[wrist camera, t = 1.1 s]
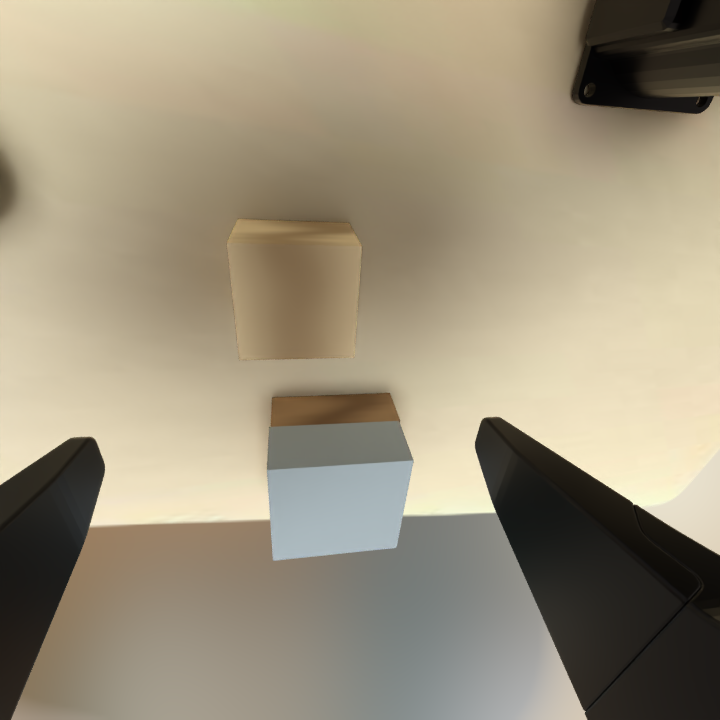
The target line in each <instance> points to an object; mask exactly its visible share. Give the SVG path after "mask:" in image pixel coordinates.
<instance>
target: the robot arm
mask: <svg viewBox="0 0 720 720" xmlns="http://www.w3.org/2000/svg"><path fill="white" fill-rule="evenodd" d="M586 41H587V43H586V46H585V50H584V53H583V57H582V60H581V64H580V67H579V71H578V74H577V78H576V82H575V85H574V89H573V100H574V101H575V102H576V103H577V104H580V105H591V106H603V107H615V108H627V109H638V110H650V111H662V112H674V113H685V114H698V113H701V112H703V111H705V110H706V109H707V108H708V107H709V105H710V103H711V102H712V99H713V97H714V96H720V0H596V3H595V7H594V10H593V14H592V17H591V21H590V24H589V28H588V32H587V35H586ZM588 84H589V87H590V89H589V93H588V95H587V96H585V95H584V89H585V87H586V86H587V85H588ZM699 96H700V100H699V102H698V104H697V105H696V102H697V99H698V98H699ZM475 449H476V453H477V456H478V459H479V463H480V466H481V469H482V472H483V475H484V478H485V481H486V485H487V488H488V491H489V494H490V497H491V500H492V503H493V505H494V508H495V510H496V513H497V515H498V517H499V520H500V522H501V524H502V526H503V529H504V531H505V533H506V535H507V538H508V540H509V542H510V545H511V547H512V549H513V551H514V554H515V556H516V558H517V560H518V562H519V565H520V567H521V569H522V572H523V574H524V576H525V579H526V581H527V583H528V585H529V587H530V590H531V592H532V594H533V597H534V599H535V601H536V603H537V606H538V608H539V610H540V612H541V615H542V617H543V619H544V621H545V624H546V625H547V628H548V631H549V633H550V635H551V637H552V640H553V642H554V644H555V646H556V649H557V651H558V653H559V656H560V658H561V660H562V662H563V665H564V667H565V669H566V671H567V673H568V676H569V678H570V680H571V683H572V685H573V687H574V689H575V692H576V694H577V696H578V698H579V701H580V703H581V705H582V707H583V709H584V710H585V711H586V712H585V715H586V717H587V720H720V555H718V554H717V553H715V552H713V551H711V550H709V549H708V548H706V547H705V546H703V545H701V544H699V543H697V542H696V541H694V540H693V539H691V538H689V537H687V536H686V535H684V534H682V533H680V532H679V531H677V530H675V529H674V528H672V527H670V526H669V525H667V524H666V523H664V522H663V521H661V520H659V519H658V518H656V517H655V516H653V515H651V514H650V513H648V512H647V511H645V510H644V509H642V508H641V507H639V506H638V505H633V503H632V502H631V501H630V500H628V499H626V498H625V497H623V496H622V495H620V494H619V493H617V492H616V491H614V490H612V489H611V488H609V487H608V486H606V485H605V484H603V483H602V482H600V481H598V480H597V479H595V478H594V477H592V476H591V475H589V474H587V473H586V472H584V471H583V470H581V469H580V468H578V467H577V466H575V465H573V464H572V463H570V462H569V461H567V460H566V459H564V458H563V457H561V456H559V455H558V454H556V453H555V452H553V451H552V450H550V449H549V448H547V447H545V446H544V445H542V444H541V443H539V442H538V441H536V440H534V439H533V438H531V437H530V436H528V435H527V434H525V433H524V432H522V431H520V430H519V429H517V428H516V427H514V426H513V425H511V424H510V423H508V422H506V421H505V420H503V419H502V418H500V417H486V418H484V419H483V420H482V421H481V424H480V427H479V431H478V434H477V437H476V441H475ZM104 473H105V464H104V461H103V458H102V455H101V453H100V450H99V448H98V445H97V442H96V440H95V439H94V438H92V437H74V438H70V439H69V440H67V441H65V442H64V443H62V444H61V445H59V446H58V447H56V448H55V449H53V450H52V451H50V452H49V453H47V454H46V455H45V456H43V457H42V458H40V459H39V460H37V461H36V462H34V463H33V464H31V465H30V466H28V467H27V468H25V469H24V470H22V471H21V472H19V473H18V474H16V475H15V476H13V477H12V478H10V479H9V480H7V481H6V482H4V483H3V484H1V485H0V720H11V718H12V716H13V713H14V711H15V709H16V706H17V704H18V701H19V699H20V697H21V694H22V692H23V689H24V687H25V684H26V682H27V680H28V677H29V675H30V672H31V670H32V668H33V665H34V662H35V660H36V658H37V656H38V653H39V651H40V648H41V646H42V643H43V641H44V639H45V636H46V634H47V632H48V629H49V627H50V624H51V622H52V619H53V617H54V615H55V612H56V610H57V607H58V605H59V602H60V600H61V598H62V595H63V593H64V591H65V588H66V586H67V583H68V581H69V578H70V576H71V574H72V571H73V569H74V566H75V564H76V562H77V559H78V557H79V554H80V552H81V549H82V547H83V544H84V542H85V539H86V536H87V533H88V529H89V526H90V523H91V519H92V516H93V512H94V509H95V505H96V502H97V498H98V495H99V491H100V488H101V484H102V481H103V477H104Z"/></svg>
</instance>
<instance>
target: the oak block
mask: <svg viewBox="0 0 720 720" xmlns="http://www.w3.org/2000/svg"><path fill="white" fill-rule="evenodd" d="M227 251H228V260H229V270H230V279H231V289H232V298H233V307H234V317H235V326H236V336H237V345H238V355H239V360H266V359H312V358H354V355H355V341H356V327H357V313H358V298H359V284H360V270H361V256H362V245H361V243H360V242H359V240H358V238H357V236H356V234H355V233H354V231H353V229H352V227H351V225H350V223H341V222H312V221H284V220H256V219H238V220H237V222H236V224H235V226H234V228H233V230H232V232H231V235H230V237H229V239H228V241H227Z"/></svg>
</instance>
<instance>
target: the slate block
mask: <svg viewBox="0 0 720 720" xmlns="http://www.w3.org/2000/svg"><path fill="white" fill-rule="evenodd" d="M413 461H414V460H413V458H412V455H411V452H410V450H409V447H408V444H407V441H406V439H405V436H404V433H403V431H402V428H401V425H400V422H399V421H383V422H362V423H341V424H320V425H299V426H278V427H269V442H268V462H267V477H268V492H269V507H270V522H271V537H272V550H273V551H272V552H273V560H283V559H293V558H303V557H312V556H321V555H330V554H340V553H350V552H360V551H370V550H379V549H389V548H396V547H397V542H398V537H399V532H400V526H401V521H402V517H403V511H404V506H405V501H406V496H407V491H408V486H409V481H410V476H411V471H412V466H413Z"/></svg>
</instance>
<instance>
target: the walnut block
mask: <svg viewBox="0 0 720 720" xmlns="http://www.w3.org/2000/svg"><path fill="white" fill-rule="evenodd" d="M383 421H399V422H400V419H399V417H398V414H397V411H396V408H395V406H394V403H393V400H392V398H391V395H390V393H377V394H351V395H326V396H300V397H274V398H272V412H271V427H278V426H299V425H320V424H341V423H362V422H383Z"/></svg>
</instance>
